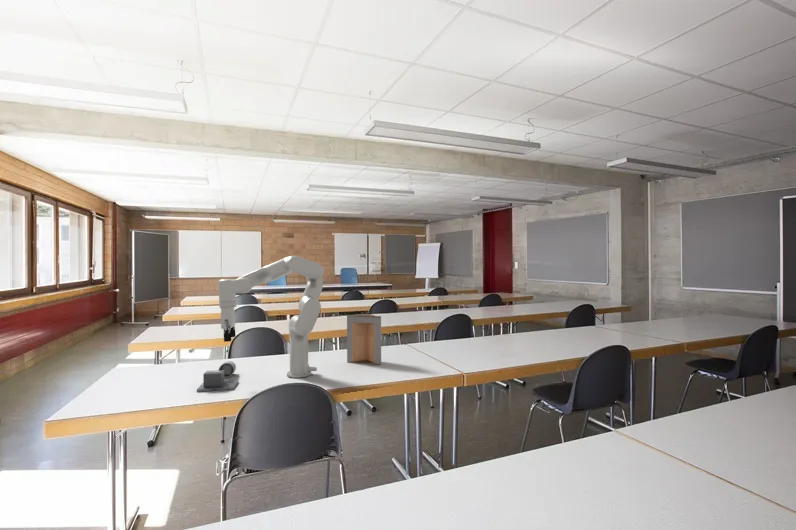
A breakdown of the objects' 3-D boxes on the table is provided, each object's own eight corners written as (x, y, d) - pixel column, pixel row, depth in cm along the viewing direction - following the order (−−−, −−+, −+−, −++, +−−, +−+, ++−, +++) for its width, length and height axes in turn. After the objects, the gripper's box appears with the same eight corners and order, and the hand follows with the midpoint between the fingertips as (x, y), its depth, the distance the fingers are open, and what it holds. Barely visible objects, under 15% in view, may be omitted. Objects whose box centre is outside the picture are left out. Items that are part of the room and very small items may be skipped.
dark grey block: (224, 382, 200) (224, 369, 200) (221, 386, 194) (221, 372, 194) (206, 383, 198) (206, 370, 198) (203, 386, 193) (203, 373, 193)
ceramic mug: (236, 373, 221) (236, 358, 221) (234, 377, 213) (233, 362, 213) (215, 374, 218) (215, 360, 218) (212, 379, 210) (211, 364, 210)
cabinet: (347, 362, 243) (346, 315, 243) (353, 358, 252) (353, 313, 252) (380, 365, 237) (380, 316, 237) (385, 361, 246) (385, 314, 246)
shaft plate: (238, 382, 204) (238, 372, 204) (233, 389, 192) (233, 379, 192) (204, 384, 201) (204, 374, 201) (196, 391, 189) (196, 381, 189)
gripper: (223, 302, 208) (225, 336, 208) (215, 307, 191) (217, 343, 191) (239, 301, 209) (241, 335, 210) (232, 306, 192) (234, 342, 193)
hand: (229, 339), depth 201 cm, fingers open, 9 cm apart
